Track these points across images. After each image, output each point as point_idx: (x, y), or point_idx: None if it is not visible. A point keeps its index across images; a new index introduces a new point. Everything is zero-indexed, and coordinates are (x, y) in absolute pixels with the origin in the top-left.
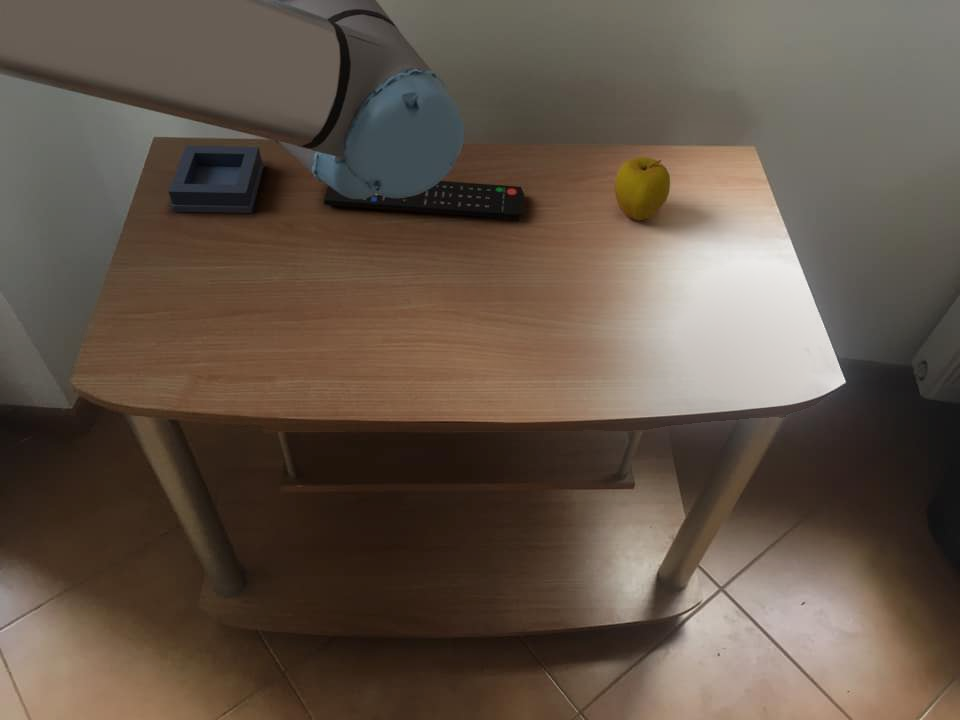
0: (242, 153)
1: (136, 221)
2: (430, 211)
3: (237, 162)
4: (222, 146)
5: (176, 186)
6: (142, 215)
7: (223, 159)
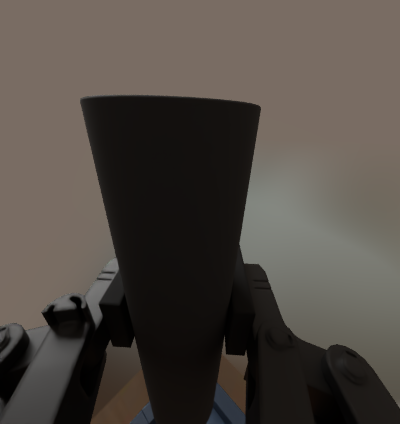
0: (229, 420)
1: (100, 414)
2: None
3: (222, 416)
4: (218, 384)
5: (140, 422)
6: (111, 408)
7: None
